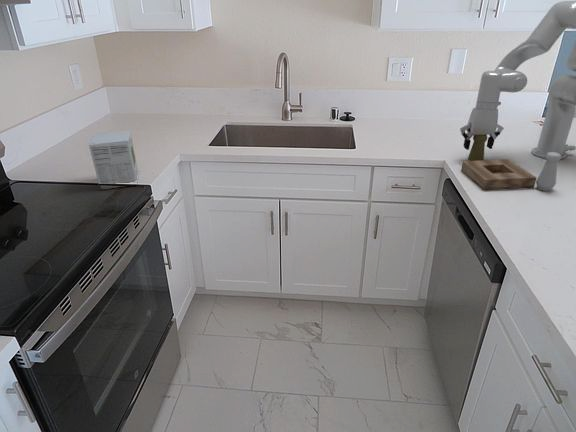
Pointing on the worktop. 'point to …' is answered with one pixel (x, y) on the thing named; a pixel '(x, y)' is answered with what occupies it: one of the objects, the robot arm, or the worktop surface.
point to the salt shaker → (548, 172)
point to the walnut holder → (498, 174)
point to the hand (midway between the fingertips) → (477, 148)
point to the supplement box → (114, 157)
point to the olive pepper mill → (477, 148)
